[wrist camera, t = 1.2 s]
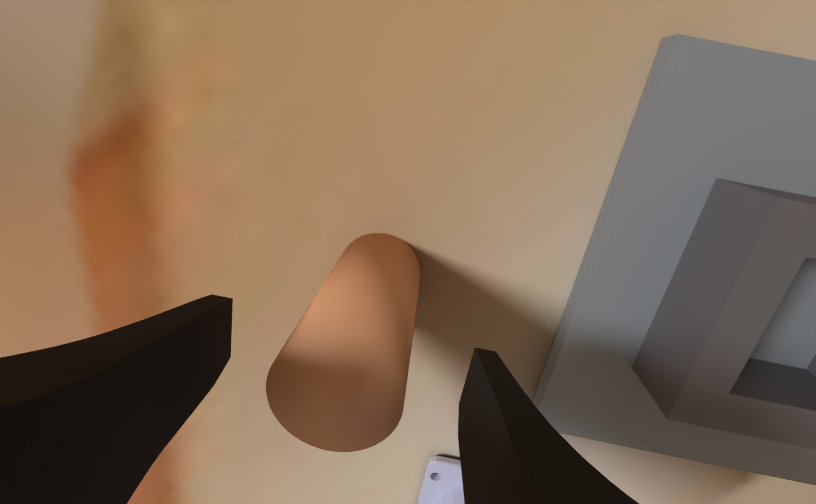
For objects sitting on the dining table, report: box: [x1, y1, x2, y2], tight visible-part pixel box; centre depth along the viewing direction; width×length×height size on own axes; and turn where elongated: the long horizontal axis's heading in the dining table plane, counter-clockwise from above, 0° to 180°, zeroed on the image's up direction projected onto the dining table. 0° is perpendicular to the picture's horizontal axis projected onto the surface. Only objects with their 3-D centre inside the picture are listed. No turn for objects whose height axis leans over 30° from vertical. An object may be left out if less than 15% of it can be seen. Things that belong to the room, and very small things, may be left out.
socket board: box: [532, 34, 816, 485], centre depth 15 cm, size 16×14×4 cm
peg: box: [266, 233, 421, 452], centre depth 14 cm, size 4×4×8 cm
